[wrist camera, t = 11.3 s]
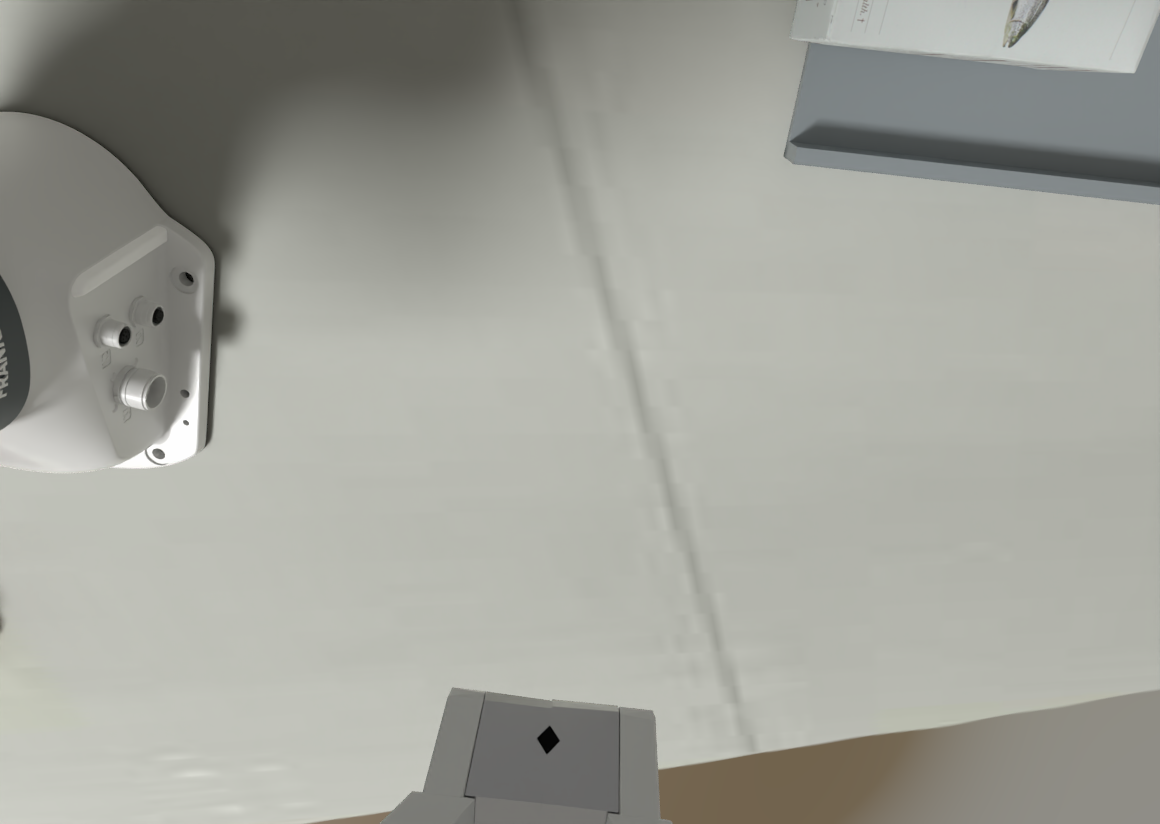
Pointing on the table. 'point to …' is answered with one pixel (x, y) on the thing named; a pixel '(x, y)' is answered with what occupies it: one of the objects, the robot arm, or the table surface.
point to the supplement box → (989, 30)
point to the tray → (982, 122)
